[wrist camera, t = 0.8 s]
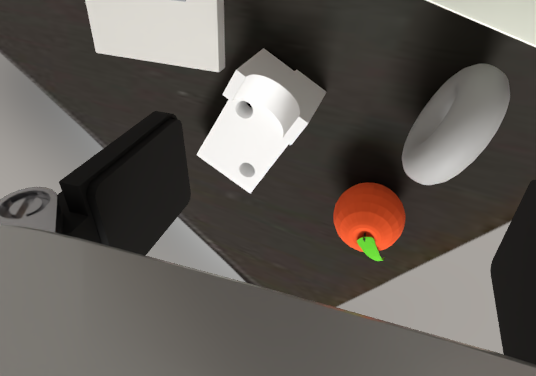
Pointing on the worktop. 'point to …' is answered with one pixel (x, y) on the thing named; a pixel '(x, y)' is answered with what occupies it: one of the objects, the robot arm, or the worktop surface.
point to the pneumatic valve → (498, 15)
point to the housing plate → (161, 31)
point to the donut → (456, 124)
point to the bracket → (259, 118)
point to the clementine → (369, 218)
